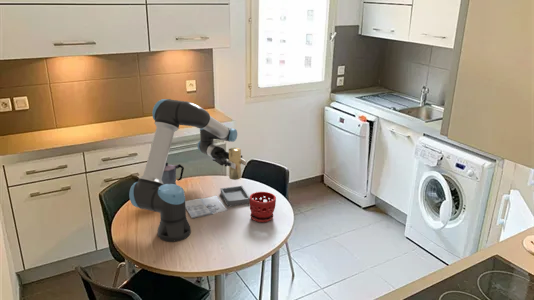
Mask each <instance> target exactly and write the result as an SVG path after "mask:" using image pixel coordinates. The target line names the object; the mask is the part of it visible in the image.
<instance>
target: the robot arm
mask: <svg viewBox="0 0 534 300" xmlns="http://www.w3.org/2000/svg"><path fill="white" fill-rule="evenodd" d="M152 108H153V109H152V111H151V112H152V118H153V121H154V125H155V127H156V129H155V133H154V136H153V139H152V142H151V143H152V144H151V147H150V151H149V153H148V157H147V161H146V164H145V167H144V168H145V169H144V172H143V174H142V176H140V177H138V179H137V181H136V182H134V183H133V184H132V185H131V186H130V189H129V193H128V194H129V195H128V196H129V201H130V203H131V204H132V206H133V207H135V208H137V209H141V210H147V211H151V212H156V213H159V217H160V221H159V224H158V227H157V236H158V238H159V239H160V240H162V241H164V242H169V243H171V242H172V243H174V242H180V241H182V240H184V239H187V238H188V237H189V236H190V235H191V232H192V230H191V229H192V228H191V225H190V223H189V220H188V218H187V212H186V211H187V210H186V207H185V201H186V195H185V190H184V188H183V187H182V186H180V185H178V184H176V185H175V184H164V185H163V182H162V180H161V179H162V175H163V172H164V168H165V164H166V163H167V159H168V158H169V152H170V149H171V145H172V141H173V138H174V134H175V133H176V132H177V131H179V128H180V126H186V127H195V128H196V129H199V136H200V137H199V138H200V140H199V141H198V142H197V149H198V151H199V152H200V153H202V154H204V155H206V156H208V157H210V158H212V161H214V162H215V163H217V164H219V165H220V166H221V167H223V166H224V167H229V166H230V167H232V168H234V169H236V164H235V163H233V162H231V161H229V151H226V150H225V149H224V148H223V147H221V146H219V145H217V144H215V143H214V140H218V141H223V142H224V141H225V142H232V143H233V142H235V141H236V140H237V137H238V130H237V129H236V128H232V127H228V126H227V125H225V124H223V123H222V122H220V121H219V120H217V119H216V118H214V117H213V116H211V115H210V113H209V112H208V111H207V110H206V109H205V108H203V107H201V106H200V105H197V104H196V103H193V102H190V101H184V100H177V99H171V98H169V99H168V98H167V99H166V98H164V99H163V98H162V99H160V100H158V101H156V103H155V104H154V106H153V107H152ZM241 165H243V166H247V160H245V159H244V158H243V155H242V154H241Z"/></svg>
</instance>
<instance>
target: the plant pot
mask: <svg viewBox="0 0 534 300" xmlns="http://www.w3.org/2000/svg"><path fill="white" fill-rule="evenodd" d="M249 196H250V200H249V203H248V204H249V210H250V212H251V213H250V218H251V219H252V220H253V221H255V222H257V223H268V222H270V221H271V220H273V218H274V212H275V209H276V203H277V198H276V195H275V194H273V193H271V192H268V191H256V192H253V193H251V194H250V195H249ZM264 200H266V201H264Z"/></svg>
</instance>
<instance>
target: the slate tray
mask: <svg viewBox="0 0 534 300" xmlns="http://www.w3.org/2000/svg"><path fill="white" fill-rule="evenodd" d="M220 195H221V197H222V198H223V200H224V202H225V204H226V206H227V207H234V206H241V205H247V204H249V200H250V195H249V193H248V192H247V191H246V189H245V187H244V186H243V185H237V186H230V187H222V188H220Z"/></svg>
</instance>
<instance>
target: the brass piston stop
mask: <svg viewBox="0 0 534 300" xmlns="http://www.w3.org/2000/svg"><path fill="white" fill-rule="evenodd" d="M228 153H229V161H231V162H233V163H235V164H236V169H234V168H232V167H230V166H228V176H229V177H228V178H229V179H230V180H234V181H236V180H241V178H242V164H241V155H242V149H241V148H239V147H231V148H228Z"/></svg>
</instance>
